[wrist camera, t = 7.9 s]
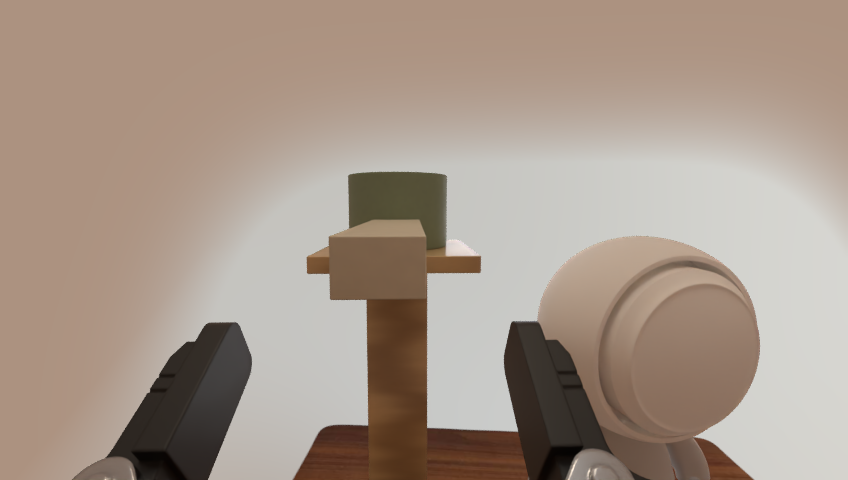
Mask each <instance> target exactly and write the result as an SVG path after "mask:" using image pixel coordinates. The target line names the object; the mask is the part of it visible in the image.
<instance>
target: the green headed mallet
mask: <svg viewBox="0 0 848 480" xmlns="http://www.w3.org/2000/svg"><path fill="white" fill-rule="evenodd" d="M348 184H349V229H347V230H345V231H342V232H340V233H337V234H334V235H332V236H329V272H330V299H331V300H391V299H426V250H428V249H436V248H441V247H444V246H446V196H447V194H446V193H447V188H446V187H447V176H446V175H442V174H435V173H421V172H369V173H356V174H350V175H349V176H348Z"/></svg>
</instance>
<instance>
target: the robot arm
mask: <svg viewBox="0 0 848 480" xmlns="http://www.w3.org/2000/svg"><path fill="white" fill-rule="evenodd" d="M251 366H252V358H251V354H250V352H249V349H248V346H247V344H246V341H245V338H244V336H243V333H242V331H241V328H240V326H239V325H238V323H236V322H235V323H208V324H206V325H205V326H204V328H203V329H202V331H201V333H200V334H199V336H198V338H197V339H196V341H195V342H186V343H185V344H184V345H183V346H182V347H181V348H180V349H179V350H177V351H176V352H175V353H174V354H173V355H172V356H171V357H170V358H169V360H168V362H167V363H166V365H165V366H164V368H163V369H162V371H161V373H160V374H159V378H157V379H156V381H155V382H154V384H153V385H152V387H151V388H150V393H147V395H146V397H145V398H144V400H143V401H142V403H141V404H140V406H139V408H138V409H137V411H136V412H135V414H134V416H133V417H132V419H131V420H130V422H129V424H128V425H127V427H126V428H125V430H124V432H123V433H122V435H121V436H120V438H119V440H118V441H117V443H116V445H115V446H114V448H113V449H112V450H111V452H110V453H109V454H108V456H107V457H106V458H105V459H102V460H100V461H97V462H95V463H94V464H92V465H90V466H88V467H87V468H85V469H84V470H82V471H81V472H80V473H79V474H78V475H76V476H75V477H74V478H73V479H72V480H208V478H209V475H210V473H211V471H212V468H213V466H214V463H215V461H216V458H217V456H218V453H219V451H220V448H221V446H222V443H223V441H224V438H225V436H226V433H227V431H228V428H229V426H230V423H231V421H232V418H233V416H234V413H235V411H236V408H237V406H238V403H239V401H240V399H241V396H242V394H243V391H244V389H245V386H246V384H247V381H248V379H249V376H250V372H251ZM504 368H505V375H506V379H507V384H508V388H509V393H510V397H511V401H512V405H513V410H514V414H515V419H516V424H517V427H518V432H519V437H520V441H521V446H522V450H523V454H524V459H525V463H526V467H527V472H528V476H529V480H650V479H647V478H644V477H642V476H639V475H637V474H636V473H634V472H632V471H631V470H629V469H628V468H627V467H626V466H625V465H624V464H623V463H622V462H621V461H620V460H619V459H618V458H616V457H615V456H614V454H613V453H612V452H611V450H610V448H609V447H608V445H607V443H606V440H605V438H604V436H603V433H602V431H601V428H600V426H599V423H598V421H597V418H596V416H595V413H594V411H593V409H592V406H591V404H590V401H589V399H588V396H587V394H586V391H585V389H583V384H582V382H581V379H580V377H579V375H578V374H577V369H576V367H575V364H574V362H573V360H572V357H571V355H570V353H569V352H568V351H567V350H566V349H565V348H564V347H563V345H562V344H561V343H560V342H559V341H558V340H546V339H545V336H544V333H543V330H542V328H541V325H540V323H539V322H538V321H516V322H515V321H513V322H512V323H511V326H510V330H509V335H508V339H507V344H506V349H505V354H504Z"/></svg>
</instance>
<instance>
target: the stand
mask: <svg viewBox="0 0 848 480" xmlns="http://www.w3.org/2000/svg"><path fill="white" fill-rule="evenodd" d="M480 271H481V256H480V255H478V254H477V253H476V252H475V251H473V250H472V249H471V248H469V247H468V246H467V245H465V244H464V243H463V242H462V241H460V240H446V246H444V247H441V248H436V249H428V250H426V299H391V300H367V357H368V358H367V360H368V430H369V480H427V273H480ZM307 273H308V274H330V272H329V246H328V247H326V248H324V249H322V250H320V251H318V252H316V253H314V254H312V255H310V256H308V257H307Z"/></svg>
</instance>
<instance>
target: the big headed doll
mask: <svg viewBox="0 0 848 480" xmlns="http://www.w3.org/2000/svg"><path fill="white" fill-rule="evenodd" d="M537 321H538V322H539V323H540V325H541V328H542V330H543V333H544V336H545V339H546V340H558V341H559V342H560V343H561V344H562V345H563V347H564V348H565V349H566V350H567V351H568V352H569V353H570V355H571V357H572V360H573V362H574V364H575V367H576V369H577V374H578V375H579V377H580V379H581V382H582V384H583V389H585V391H586V394H587V396H588V399H589V401H590V404H591V406H592V409H593V411H594V413H595V416H596V418H597V421H598V423H599V426H600V428H601V431H602V433H603V436H604V438H605V440H606V443H607V445H608V447H609V448H610V450H611V452H612V453H613V454H614V456H615V457H616V458H618V459H619V460H620V461H621V462H622V463H623V464H624V465H625V466H626V467H627V468H628V469H629V470H631V471H632V472H634V473H636V474H637V475H639V476H642V477H644V478H647V479H650V480H675V478H674V473H673V469H672V466H673V468H674V469H675V473H676V476H677V479H678V480H710V475H709V469H708V465H707V462H706V459H705V457H704V454H703V453H702V451H701V449H700V447H699V446H698V444H697V442H696V441H695V439H694V438H693V437H694V436H696V435H698V434H700V433H701V432H703V431H705V430H707V429H708V428H709V427H711V426H713V425H715V424H717V423H718V422H720V421H721V420H723V419H724V418H725V417H726V416H728V415H729V414H730V413H731V412H732V411H733V410H734V409H735V408H736V407H737V406H738V404H739V403H740V402H741V400H742V399H743V398H744V396H745V395H746V393H747V391H748V389H749V388H750V386H751V383H752V381H753V378H754V376H755V373H756V369H757V365H758V360H759V352H760V340H759V332H758V327H757V321H756V315H755V311H754V307H753V304H752V301H751V299H750V296H749V294H748V292H747V290H746V289H745V287H744V286H743V284H742V283H741V281H740V280H739V279H738V278H737V277H736V275H735V274H734V273H733V272H732V271H731V270H730V269H728V268H727V267H726V266H725V265H724V264H722V263H721V262H719V261H718V260H717V259H715V258H714V257H712V256H710V255H708V254H706V253H705V252H703V251H701V250H699V249H696V248H694V247H692V246H689V245H686V244H684V243H680V242H677V241H673V240H668V239H664V238H658V237H648V236H633V237H622V238H616V239H611V240H607V241H604V242H600V243H598V244H595V245H593V246H590V247H588V248H586V249H584V250H582V251H581V252H579V253H577V254H576V255H575V256H573V257H572V258H570V259H569V260H568V261H567V262H566V263H565V264H564V265H563V266H562V267H561V268H560V269H559V270H558V271H557V272H556V273H555V275H554V276H553V277H552V279H551V280H550V282H549V284H548V285H547V287H546V289H545V292H544V294H543V297H542V299H541V303H540V307H539V312H538V320H537ZM528 480H529V477H528Z"/></svg>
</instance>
